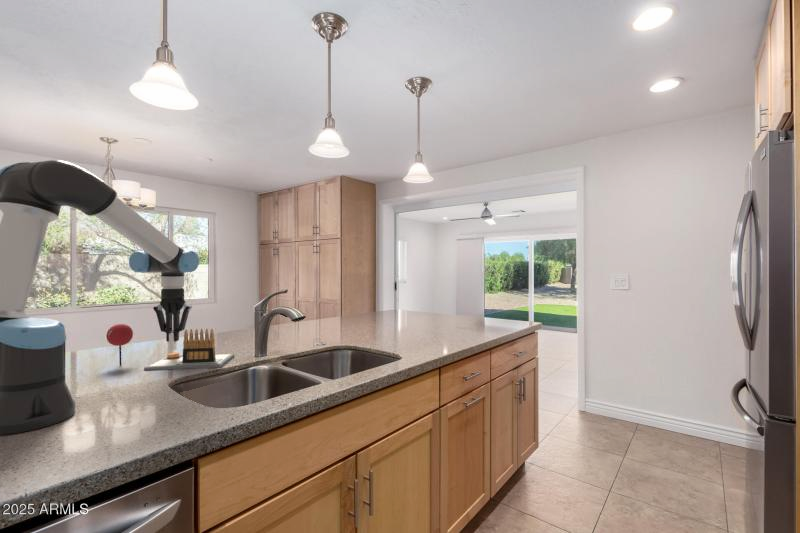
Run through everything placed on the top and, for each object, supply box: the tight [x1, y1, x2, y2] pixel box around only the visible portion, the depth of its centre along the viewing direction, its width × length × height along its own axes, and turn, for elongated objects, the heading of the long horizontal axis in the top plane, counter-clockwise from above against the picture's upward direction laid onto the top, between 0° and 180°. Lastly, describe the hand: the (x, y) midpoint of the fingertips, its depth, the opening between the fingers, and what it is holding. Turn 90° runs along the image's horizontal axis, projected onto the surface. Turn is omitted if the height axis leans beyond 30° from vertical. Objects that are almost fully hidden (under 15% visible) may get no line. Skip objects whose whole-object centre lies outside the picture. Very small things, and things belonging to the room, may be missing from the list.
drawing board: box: [143, 353, 235, 371], centre depth 138 cm, size 16×25×1 cm, turn 98°
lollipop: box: [106, 323, 134, 366], centre depth 135 cm, size 8×8×15 cm
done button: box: [166, 352, 180, 358], centre depth 142 cm, size 4×4×1 cm
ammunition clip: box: [182, 328, 216, 363], centre depth 135 cm, size 11×2×12 cm, turn 98°
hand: (172, 349), depth 141 cm, fingers closed
